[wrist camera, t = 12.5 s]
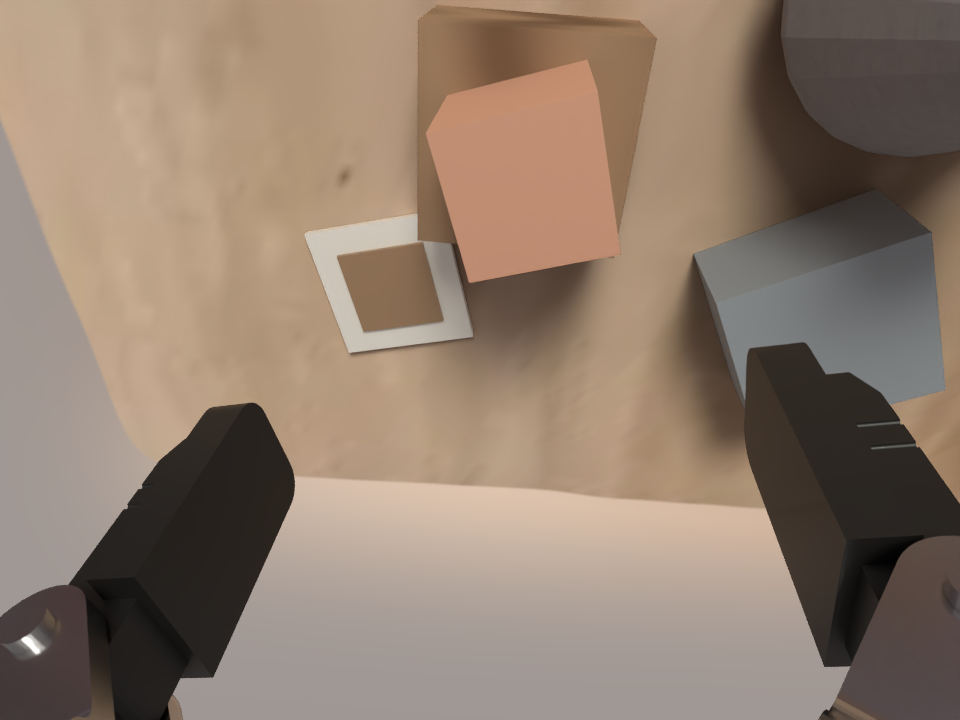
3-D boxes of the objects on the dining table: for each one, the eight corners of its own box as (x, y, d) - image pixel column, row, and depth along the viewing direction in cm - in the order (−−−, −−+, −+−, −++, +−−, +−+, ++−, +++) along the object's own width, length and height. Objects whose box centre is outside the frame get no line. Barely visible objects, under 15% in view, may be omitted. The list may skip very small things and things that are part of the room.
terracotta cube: (587, 59, 21) (597, 91, 17) (607, 198, 24) (620, 254, 20) (447, 95, 23) (425, 133, 18) (481, 224, 25) (469, 283, 21)
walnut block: (638, 20, 25) (656, 38, 21) (604, 211, 30) (613, 258, 26) (438, 4, 25) (417, 19, 21) (434, 197, 30) (417, 240, 26)
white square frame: (443, 208, 30) (442, 213, 29) (474, 332, 34) (472, 339, 33) (306, 231, 31) (303, 236, 31) (350, 348, 35) (348, 354, 34)
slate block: (874, 187, 28) (931, 232, 24) (893, 329, 32) (945, 390, 28) (692, 251, 30) (715, 303, 26) (730, 377, 34) (756, 439, 30)
